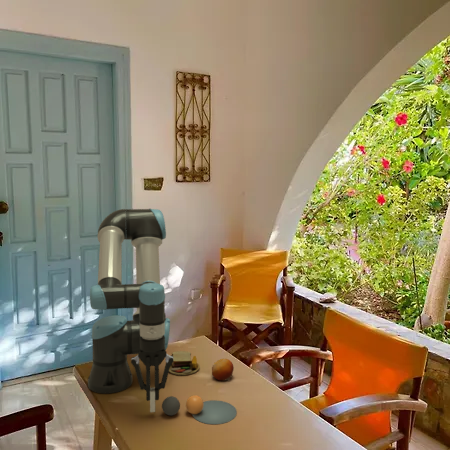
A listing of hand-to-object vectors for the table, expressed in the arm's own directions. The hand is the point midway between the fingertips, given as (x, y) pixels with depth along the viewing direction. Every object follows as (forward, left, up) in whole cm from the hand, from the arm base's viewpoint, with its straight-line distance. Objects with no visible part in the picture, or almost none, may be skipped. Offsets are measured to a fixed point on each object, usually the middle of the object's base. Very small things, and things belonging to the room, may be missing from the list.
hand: (152, 409), depth 143 cm
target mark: (+14, +12, -2) cm, 19 cm away
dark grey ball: (+4, +4, +1) cm, 6 cm away
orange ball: (+10, +8, +1) cm, 13 cm away
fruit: (+4, +34, -2) cm, 34 cm away
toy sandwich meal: (-13, +32, -3) cm, 35 cm away
